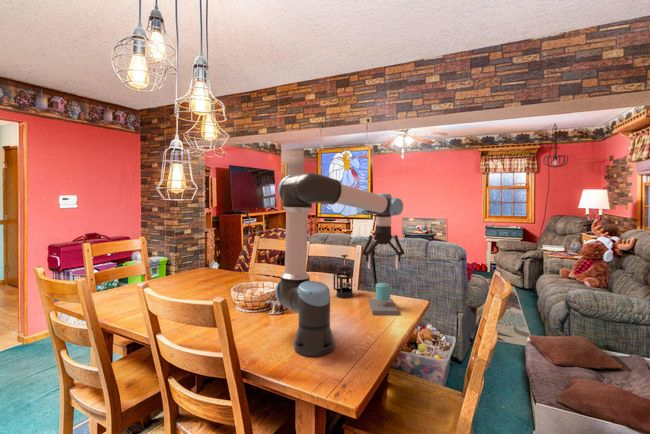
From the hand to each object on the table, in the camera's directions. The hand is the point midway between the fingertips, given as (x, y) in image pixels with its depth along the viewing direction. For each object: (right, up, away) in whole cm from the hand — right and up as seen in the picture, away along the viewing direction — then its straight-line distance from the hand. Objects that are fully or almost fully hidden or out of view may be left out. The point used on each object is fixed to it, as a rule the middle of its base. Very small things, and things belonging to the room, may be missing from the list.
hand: (382, 268), depth 161 cm
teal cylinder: (0, -15, +1) cm, 15 cm away
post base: (0, -20, +1) cm, 20 cm away
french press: (-18, -19, +22) cm, 34 cm away
